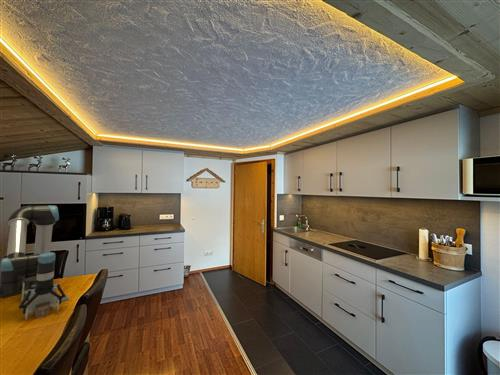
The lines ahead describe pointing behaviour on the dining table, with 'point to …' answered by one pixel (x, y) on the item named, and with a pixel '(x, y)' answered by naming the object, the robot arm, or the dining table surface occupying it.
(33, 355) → the dining table surface
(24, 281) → the coffee can
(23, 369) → the dining table surface
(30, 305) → the screen
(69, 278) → the dining table surface
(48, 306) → the brown cube
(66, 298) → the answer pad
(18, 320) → the dining table surface
